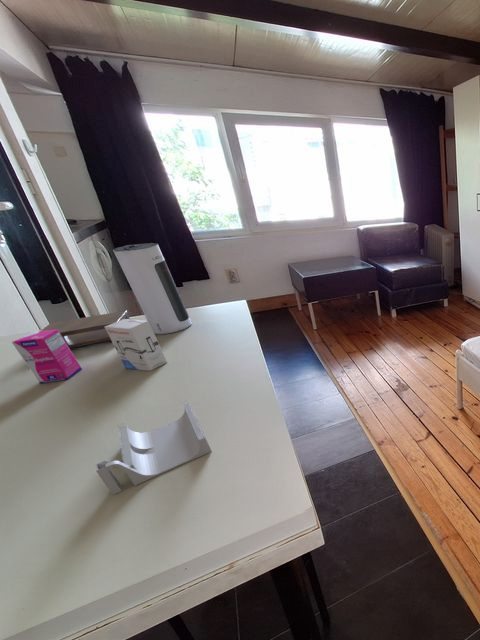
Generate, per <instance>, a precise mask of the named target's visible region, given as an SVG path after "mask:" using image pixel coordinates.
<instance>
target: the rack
mask: <svg viewBox="0 0 480 640" xmlns="http://www.w3.org/2000/svg"><path fill="white" fill-rule="evenodd" d="M123 319H131V318H130V316H129V311H128V310H122V311H116V312H110V313H104V314H98V315H91V316H85V317H79V318H74V319H68V320H61V321H54V322H50V323H49V324H48V325H46V326H45V327H44V328H42V329H41V330H40V331H46V330H55V329H58V331H59V332H60V334H61V336H62V337H63V339H64V340H65V342H66V344H67V345H68V347H69V349H71V348H76V347H81V346H86V345H92V344H96V343H97V344H98V343H101V342H107V341H111V339H110V337H109V335H108V333H107V331H106V329H105V326H108V325H110V324H113V323H115V322H118V321H120V320H123Z"/></svg>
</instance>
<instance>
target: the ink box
mask: <svg viewBox="0 0 480 640" xmlns="http://www.w3.org/2000/svg"><path fill="white" fill-rule="evenodd" d="M105 329H106V331H107V333H108V335H109V337H110V339H111V340H110V341H111V342H112V344H113V346H114V348H115V350H116V352H117V354H118V356H119V358H120V361H121V362H122V365H123V366H124V368H125V369H130V370H140V371H149V372H151V371H153V370H155V369H157V368H158V367H160V366H162V365H164V364H167V363H168V360H167V358H166V356H165V354H164V352H163V350H162V348H161V345H160V344H159V341H158V339H157V336H156V334H155V333H154V332H153V330H152V328H151V326H150V324H149V322H148V321H147V320H142V319H141V320H140V319H131V318H130V319H123V320H120V321H118V322H115V323H113V324H110V325H108V326H105Z"/></svg>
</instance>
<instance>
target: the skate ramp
mask: <svg viewBox="0 0 480 640" xmlns="http://www.w3.org/2000/svg"><path fill="white" fill-rule="evenodd" d="M181 403H182V406H183V407H184V412H183V414H182V415H181V417H179V418H178V419H177V420H175V421H172V422H169V423H167V424H165V425H162V426H159V427H156V428H154V429H152V430H149V431H144V432H138V431H134V430H132V429H130V428H129V427H128V425H125V423H123V424H118V425H117V427H118V435H119V442H120V443H119V444H120V450H121V459H122V461H120V460H111V461H106V460H103V461H100V462H98V463H95V471H96V473H97V475H98V476H99V477H100V479H101V480H102V482H103V483H104V485H105V486H106V489H108V491H109V492H110V494H111V495H112V496H113V495H114V496H115V495H116V494H118V493H121V492H122V489H121V488H120V487H119V486H121V485H122V484H121V482H120V481H119V479H118V478H117V476H116V475H115V473H114V472H113V470H112V468H116V469H121V470H123V471H124V472H125V473H126V475H127V476H128V477H129V479H130V481H131V482H132V484H133V485H134V486H137V485H139V484H142V483H144V482H146V481H148V480H150V479H153V478H155V477H158V476H160V475H162V474H165V473H166V472H168V471H171V470H173V469H175V468H177V467H180V466H182V465H184V464H187V463H189V462H191V461H194V460H196V459H197V458H200V457H203V456H205V455H207V454H209V453H212V448H211V447H210V445H209V442H208V440H207V438H206V436H205V434H204V431H203V429H202V427H201V425H200V423H199V421H198V418H197V416H196V414H195V412H194V410H193V408H192V406H191V403H190V402H188V401H182V402H181Z"/></svg>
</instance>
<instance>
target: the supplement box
mask: <svg viewBox="0 0 480 640" xmlns="http://www.w3.org/2000/svg"><path fill="white" fill-rule="evenodd" d="M11 344H12V345H13V346H14V348H15V350H16V351H17V352H18V353H19V355H20V357H21V358H22V359H23V361H24V362H25V364H26V365H27V366H28V368H29V369H30V371H31V373H32V374H33V375H34V377H35V378H36V380H37V381H38V382H39V384H46V383H51V382H52V383H53V382H60V381H67V380H70V379H71V378H72V377H74V376H75V375H77V373H79V372H80V371H81V370H83V368H82V367H81V364H80V363H79V361H78V360H77V358H76V357H75V355H74V354H73V352H72V350H71V348H69V347H68V345H67V344H66V342H65V340H64V339H63V337H62V336H61V334H60V332H59V331H58V329H55V330H46V331H41V330H39V331H38V330H37V331H30V332H27V333H26V334H24V335H22V336H21V337H19V338H17V339H15V340H13V341H11Z"/></svg>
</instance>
